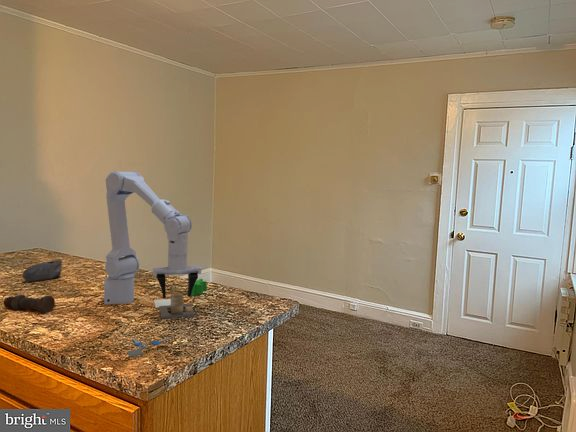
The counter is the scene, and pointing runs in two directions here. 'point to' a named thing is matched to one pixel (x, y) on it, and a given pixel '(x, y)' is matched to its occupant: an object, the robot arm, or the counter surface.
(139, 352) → the key chain
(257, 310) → the counter surface
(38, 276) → the perforated stone tool
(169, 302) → the white rectangular plate
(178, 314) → the plate
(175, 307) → the birch peg
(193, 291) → the pipe clamp
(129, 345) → the counter surface
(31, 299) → the dark brown elongated lump
